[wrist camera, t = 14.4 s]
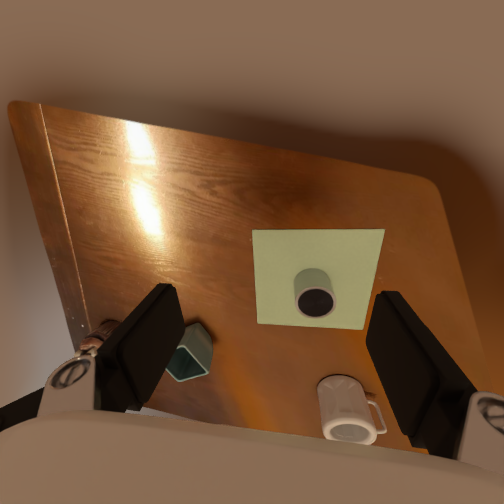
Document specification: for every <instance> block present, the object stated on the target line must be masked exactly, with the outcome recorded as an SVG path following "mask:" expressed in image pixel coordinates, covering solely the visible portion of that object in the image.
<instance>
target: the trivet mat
mask: <svg viewBox="0 0 504 504" xmlns="http://www.w3.org/2000/svg"><path fill="white" fill-rule="evenodd" d="M384 232H385V229H284V230H252V236H253V253H254V271H255V288H256V305H257V322H258V323H259V324H276V325H293V326H309V327H326V328H343V329H360V330H363V326H364V322H365V317H366V313H367V308H368V304H369V299H370V295H371V290H372V286H373V281H374V277H375V272H376V268H377V263H378V259H379V254H380V250H381V245H382V241H383V236H384ZM310 268H314V269H319V270H322V271H323V272H325V273H326V274H327V275H328V277H329V279H330V282H331V285H332V288H333V291H334V294H335V297H336V301H337V302H336V307H335V309H334V311H333V312H332V313H331V314H329V315H328V316H326V317H323V318H317V319H314V318H308V317H305V316H303V315H302V314H300V313H299V312H298V310H297V309H296V306H295V297H294V279H295V277H296V276H297V274H298V273H300V272H301V271H303V270H305V269H310Z"/></svg>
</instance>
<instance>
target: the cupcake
mask: <svg viewBox="0 0 504 504" xmlns="http://www.w3.org/2000/svg"><path fill="white" fill-rule="evenodd" d="M120 324H121V323H120V322H117V321H108V322H105V323H104V324H102V325H101V326H100V327H98V328H97V329H95V330H94V331H92V332H90V333H89V334H88V335H87V336H86V337H85V339H84V340H82V342H81V344H80V347H79V350H78V351H77V352H76V353H75V354H74V358H75V357H78V356H81V355H91V356H93V357H95V356H96V355H97V354H98V353H97V351H96V350H97V349H98V348H99V347H100V346H101V345H102V344H103V342H104V341H105V340H106V339H107V338H108V337H109V336H110V335H111V334H112V333H113V332H114V331H115V330H116V328H117V327H118V326H119V325H120Z"/></svg>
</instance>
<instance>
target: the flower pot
mask: <svg viewBox="0 0 504 504" xmlns="http://www.w3.org/2000/svg"><path fill="white" fill-rule="evenodd" d="M212 355H213V344H212V340H211V337H210V335H209V334H208V333H207V332H206V330H205V329H204V328H203V327H202V325H201V324H200V323H195V324H193V325H190V326H188V327H185V334H184V336H183V338H182V340H181V341H180V343H179V345H178V347H177V349H176V351H175V353H174V354H173V356H172V358H171V360H170V362H169V364H168V366H167V367H166V370H167V371H168V372H169V374H170V375H171V376H172V377H173V378H174V379H175V380H177V381H178V382H181V381H185V380H188V379H192V378H195V377H199V376H203V375H206V374H208V373H209V370H210V365H211V360H212Z"/></svg>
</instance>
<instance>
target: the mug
mask: <svg viewBox="0 0 504 504" xmlns="http://www.w3.org/2000/svg"><path fill="white" fill-rule="evenodd" d="M317 391H318V398H319V403H320V411H321V421H322V430H323V434H324V436H325V437H326V439H329V440H336V441H343V442H351V443H358V444H365V445H370V444H372V443H373V442H374V441H375V440H376V437H377V434H383V433H386V432H387V430H386V426H385V423H384V420H383V417H382V414H381V412H380V409H379V406H378V404H377V403H376V402H374V401H371V400H368V399H366V397H365V394H364V391H363V388H362V386H361V384H360V383H359V382H358V381H356V380H355V379H353V378H351V377H348V376H343V375H334V376H329V377H327V378H325V379H323V380H322V381H321V382H320V383H319V384H318V387H317ZM368 403H370V404H372V405H374V406H375V407H376V410H377V413H378V416H379V419H380V422H381V424H382V427H383V429H376V427H375V424H374V422H373V419H372V415H371V412H370V409H369V406H368Z"/></svg>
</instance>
